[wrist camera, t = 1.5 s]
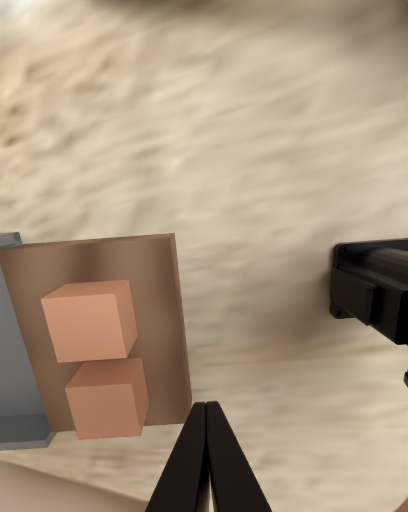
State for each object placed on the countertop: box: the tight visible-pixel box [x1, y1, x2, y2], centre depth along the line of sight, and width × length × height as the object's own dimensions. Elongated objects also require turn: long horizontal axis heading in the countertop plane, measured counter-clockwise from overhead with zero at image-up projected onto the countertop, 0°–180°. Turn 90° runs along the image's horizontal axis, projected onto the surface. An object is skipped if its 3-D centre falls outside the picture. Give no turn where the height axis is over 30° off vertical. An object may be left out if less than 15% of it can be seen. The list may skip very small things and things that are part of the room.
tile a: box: [41, 279, 138, 363], centre depth 15 cm, size 4×4×2 cm
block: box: [65, 358, 149, 440], centre depth 16 cm, size 4×4×2 cm
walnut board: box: [0, 233, 192, 432], centre depth 18 cm, size 12×16×2 cm
